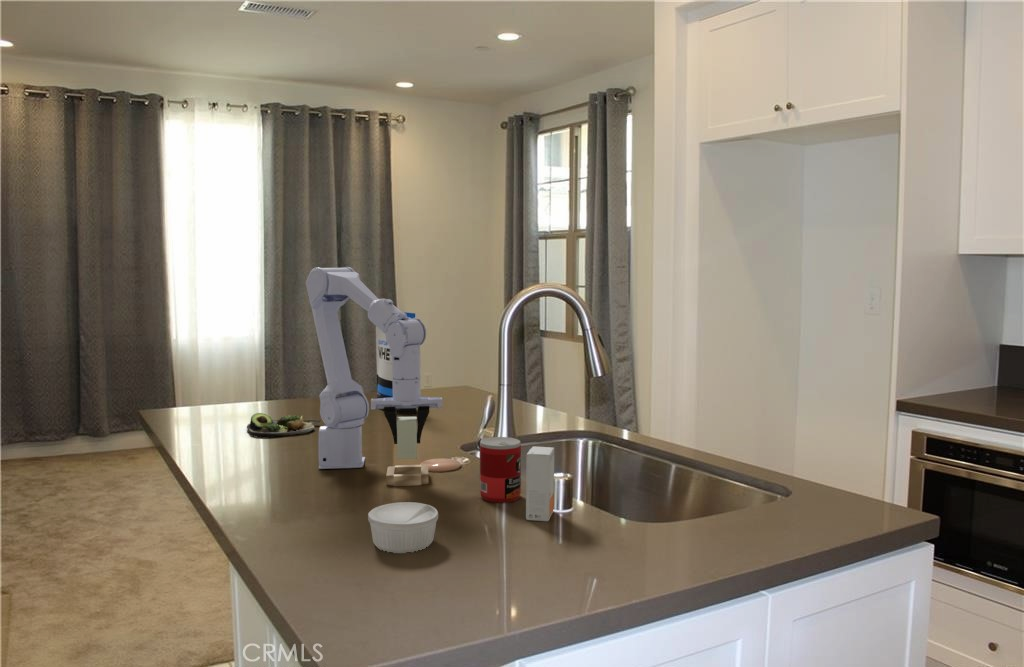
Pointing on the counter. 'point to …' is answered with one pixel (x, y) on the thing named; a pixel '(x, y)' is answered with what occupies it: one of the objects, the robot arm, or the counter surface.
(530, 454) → the skincare box
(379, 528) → the ramekin
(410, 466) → the oak holder
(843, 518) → the counter surface
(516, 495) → the canned food
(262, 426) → the salad plate
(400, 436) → the sage peg
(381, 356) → the protein powder
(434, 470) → the terracotta coaster
